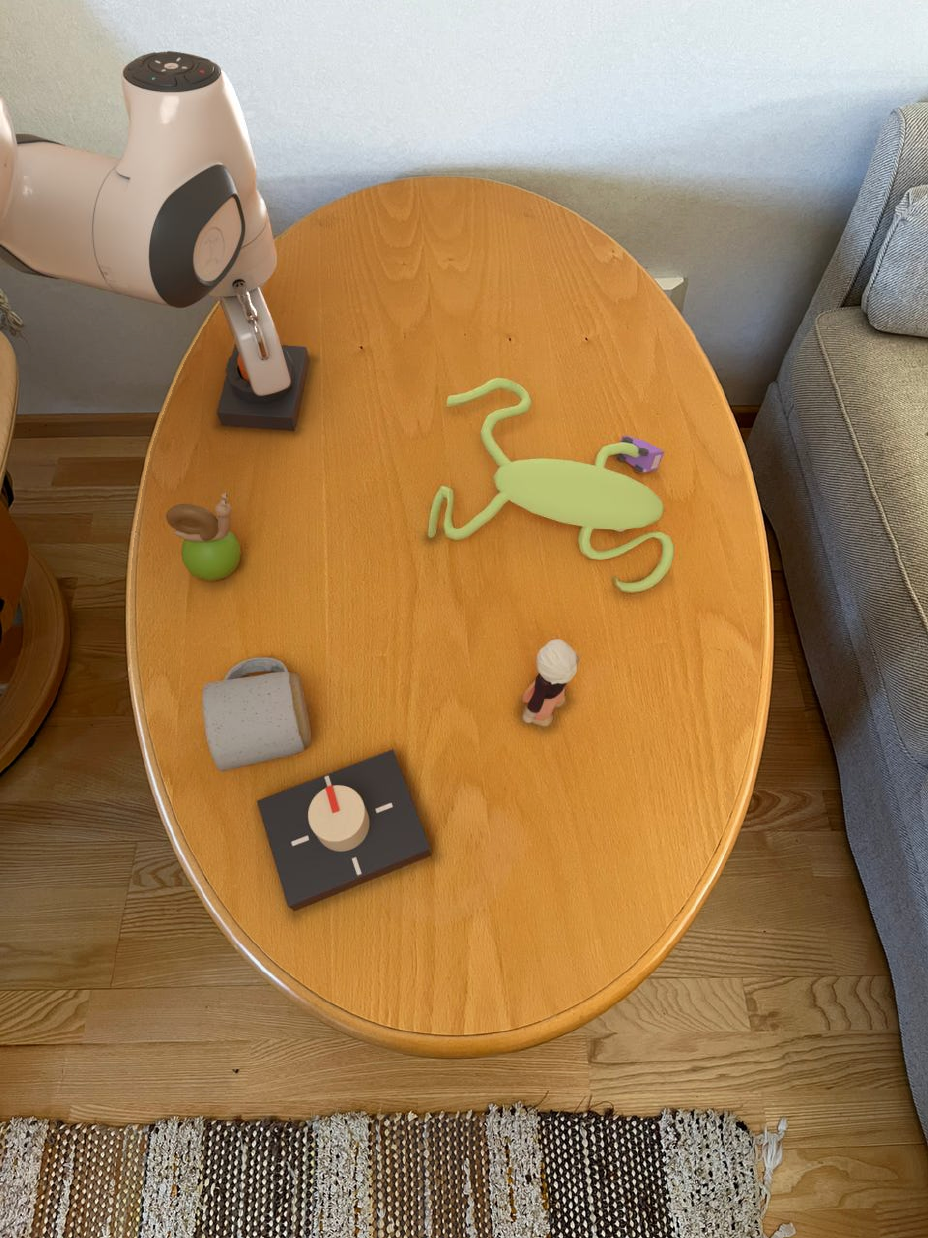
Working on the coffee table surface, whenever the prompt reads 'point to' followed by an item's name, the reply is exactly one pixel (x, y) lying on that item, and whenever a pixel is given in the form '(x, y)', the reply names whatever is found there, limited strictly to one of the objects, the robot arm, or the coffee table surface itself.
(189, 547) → the snail figurine
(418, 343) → the coffee table surface
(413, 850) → the dial panel
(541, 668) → the grandmother figurine
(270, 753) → the ceramic mug
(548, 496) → the figurine
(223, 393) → the button base
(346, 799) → the dial
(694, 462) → the coffee table surface
